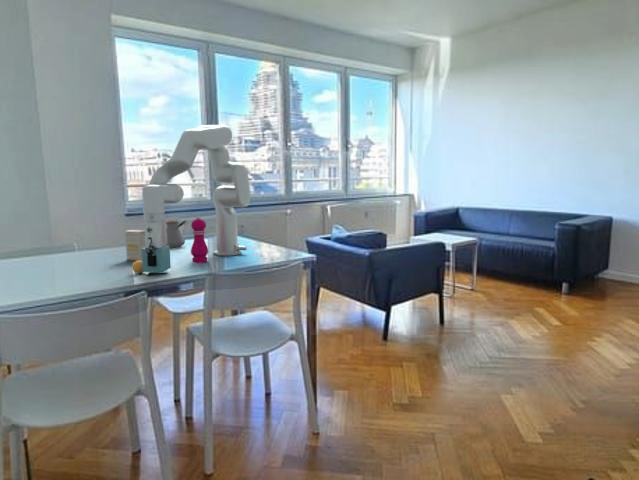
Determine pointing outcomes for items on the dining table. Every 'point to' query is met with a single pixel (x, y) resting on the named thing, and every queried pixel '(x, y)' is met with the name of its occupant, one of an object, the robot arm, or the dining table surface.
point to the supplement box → (135, 244)
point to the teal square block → (161, 258)
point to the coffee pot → (174, 234)
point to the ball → (138, 267)
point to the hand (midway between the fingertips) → (156, 263)
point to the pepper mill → (199, 241)
